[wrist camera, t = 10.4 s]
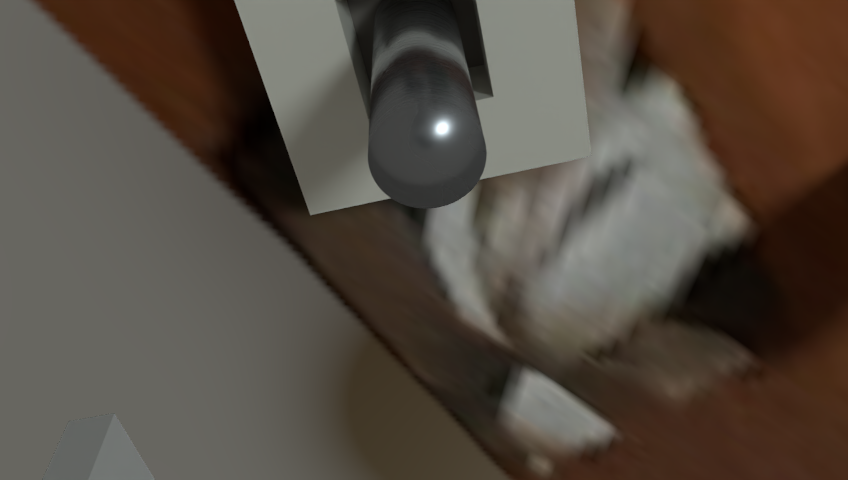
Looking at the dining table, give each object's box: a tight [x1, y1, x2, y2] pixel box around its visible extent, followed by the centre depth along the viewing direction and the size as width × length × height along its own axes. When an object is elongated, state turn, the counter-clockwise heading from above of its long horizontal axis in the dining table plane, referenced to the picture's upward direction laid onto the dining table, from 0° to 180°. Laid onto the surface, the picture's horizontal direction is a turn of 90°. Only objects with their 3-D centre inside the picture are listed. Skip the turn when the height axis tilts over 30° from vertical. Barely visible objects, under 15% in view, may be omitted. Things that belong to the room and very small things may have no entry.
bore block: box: [234, 0, 591, 215], centre depth 31 cm, size 12×12×4 cm
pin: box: [368, 0, 487, 208], centre depth 27 cm, size 3×3×12 cm
